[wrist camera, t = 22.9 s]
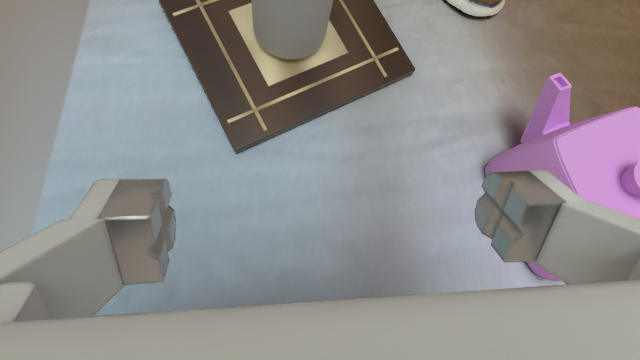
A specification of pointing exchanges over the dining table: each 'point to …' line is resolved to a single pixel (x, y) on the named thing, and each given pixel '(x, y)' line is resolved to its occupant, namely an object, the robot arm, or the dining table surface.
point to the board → (283, 65)
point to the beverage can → (291, 26)
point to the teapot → (580, 152)
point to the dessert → (478, 6)
